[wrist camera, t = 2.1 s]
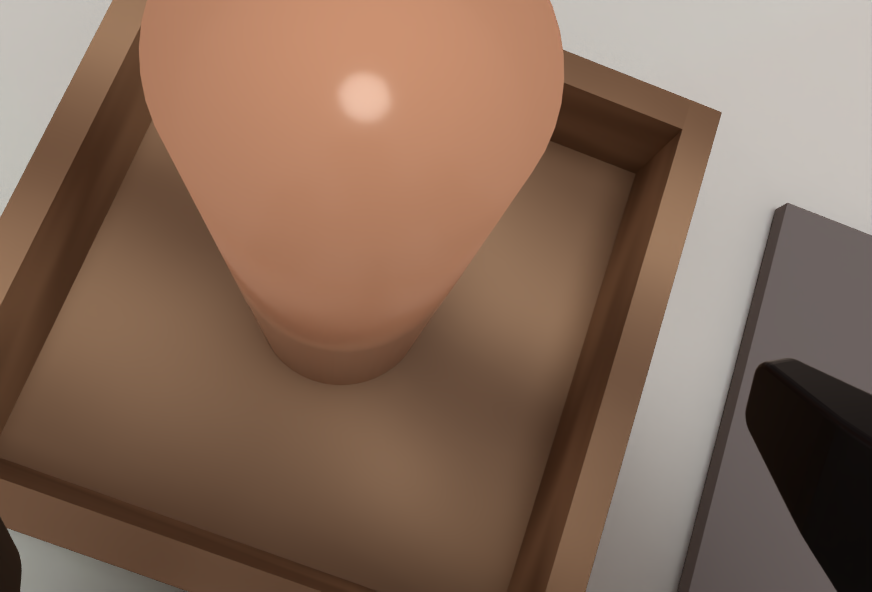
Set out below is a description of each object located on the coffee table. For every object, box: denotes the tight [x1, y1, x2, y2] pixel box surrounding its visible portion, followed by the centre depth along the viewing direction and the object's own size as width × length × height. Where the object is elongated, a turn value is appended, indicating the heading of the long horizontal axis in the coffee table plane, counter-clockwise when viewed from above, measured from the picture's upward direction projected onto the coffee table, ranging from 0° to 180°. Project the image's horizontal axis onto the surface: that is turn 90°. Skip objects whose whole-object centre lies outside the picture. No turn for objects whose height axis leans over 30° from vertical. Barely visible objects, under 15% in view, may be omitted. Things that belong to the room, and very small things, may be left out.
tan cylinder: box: [139, 0, 564, 385], centre depth 14 cm, size 4×4×12 cm
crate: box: [0, 0, 722, 592], centre depth 19 cm, size 14×14×4 cm
